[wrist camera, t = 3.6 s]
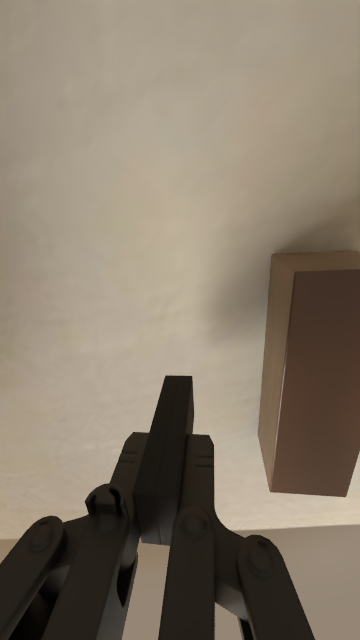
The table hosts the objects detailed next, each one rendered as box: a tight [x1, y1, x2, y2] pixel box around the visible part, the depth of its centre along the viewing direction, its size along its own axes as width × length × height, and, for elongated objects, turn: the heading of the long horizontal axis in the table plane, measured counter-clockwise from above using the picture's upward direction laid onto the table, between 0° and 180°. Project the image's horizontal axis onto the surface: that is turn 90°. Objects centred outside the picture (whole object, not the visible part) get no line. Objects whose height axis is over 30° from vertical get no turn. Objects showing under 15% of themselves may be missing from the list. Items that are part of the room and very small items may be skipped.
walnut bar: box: [258, 251, 360, 497], centre depth 15 cm, size 4×14×4 cm, turn 3°
